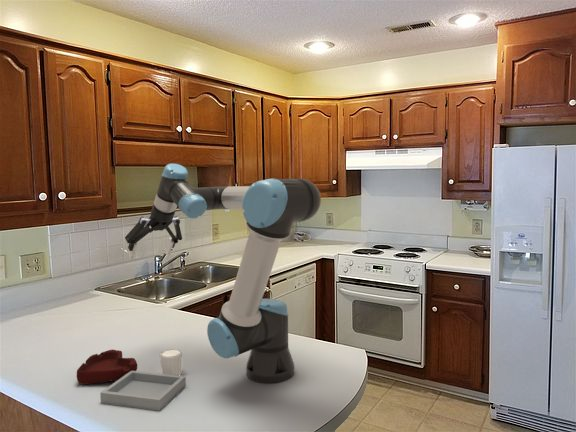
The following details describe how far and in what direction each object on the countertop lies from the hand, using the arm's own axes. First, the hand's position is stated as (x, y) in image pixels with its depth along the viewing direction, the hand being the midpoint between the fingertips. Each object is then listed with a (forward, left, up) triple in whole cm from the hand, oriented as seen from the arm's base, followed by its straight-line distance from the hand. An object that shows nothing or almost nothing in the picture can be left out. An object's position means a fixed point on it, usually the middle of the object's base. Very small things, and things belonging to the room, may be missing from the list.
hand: (149, 255), depth 161 cm
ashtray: (+3, +24, -35) cm, 42 cm away
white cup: (-18, +18, -34) cm, 43 cm away
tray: (-17, +31, -34) cm, 49 cm away
